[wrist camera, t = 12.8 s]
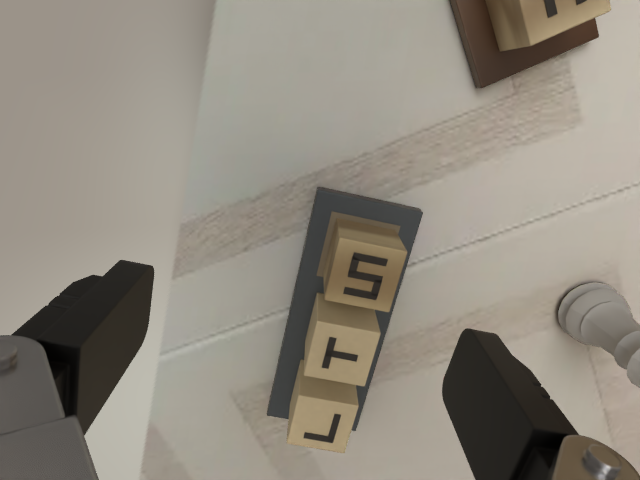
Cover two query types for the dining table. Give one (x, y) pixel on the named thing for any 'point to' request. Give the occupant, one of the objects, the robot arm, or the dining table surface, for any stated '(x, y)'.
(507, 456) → the robot arm
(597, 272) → the dining table surface
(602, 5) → the near word rack
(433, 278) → the dining table surface
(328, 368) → the far word rack
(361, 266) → the letter S
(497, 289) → the dining table surface
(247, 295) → the dining table surface
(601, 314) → the rook chess piece
